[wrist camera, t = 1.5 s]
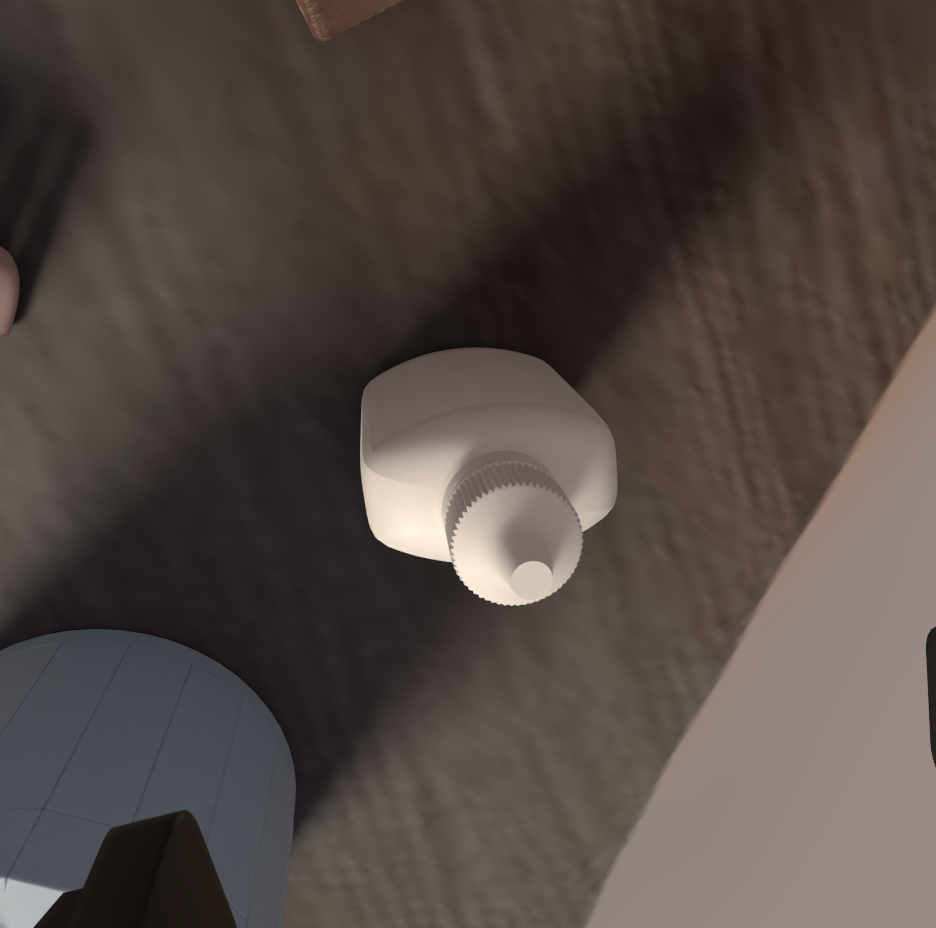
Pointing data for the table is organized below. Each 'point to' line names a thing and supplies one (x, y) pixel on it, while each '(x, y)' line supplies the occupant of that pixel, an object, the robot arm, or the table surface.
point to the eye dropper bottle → (485, 468)
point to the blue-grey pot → (136, 767)
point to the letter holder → (339, 14)
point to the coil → (8, 291)
